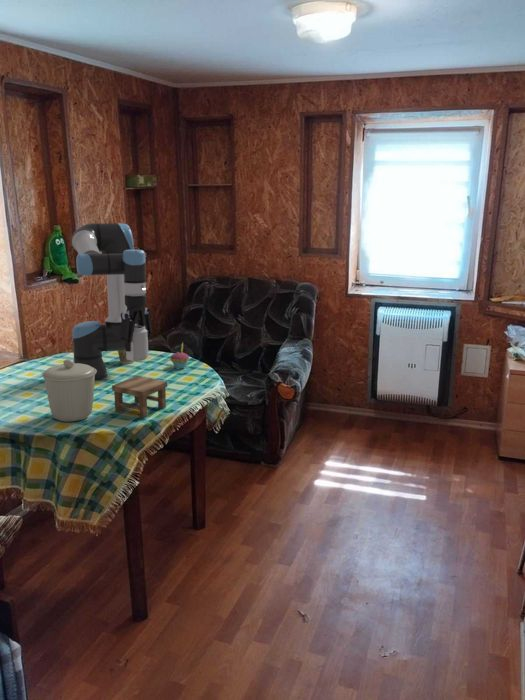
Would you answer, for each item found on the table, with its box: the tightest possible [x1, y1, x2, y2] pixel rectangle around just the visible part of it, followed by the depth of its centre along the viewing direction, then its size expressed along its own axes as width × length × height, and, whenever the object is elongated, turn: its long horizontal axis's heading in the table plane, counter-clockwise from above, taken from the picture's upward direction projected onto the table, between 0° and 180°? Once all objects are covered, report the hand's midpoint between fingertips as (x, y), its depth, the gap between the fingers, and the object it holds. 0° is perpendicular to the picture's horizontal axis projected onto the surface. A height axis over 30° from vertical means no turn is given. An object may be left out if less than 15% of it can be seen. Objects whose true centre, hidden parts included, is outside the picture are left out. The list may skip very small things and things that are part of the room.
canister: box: [41, 358, 97, 423], centre depth 202 cm, size 18×18×21 cm
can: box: [128, 324, 149, 362], centre depth 208 cm, size 8×8×12 cm
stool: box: [111, 375, 168, 419], centre depth 212 cm, size 14×14×10 cm
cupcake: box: [169, 342, 190, 369], centre depth 265 cm, size 9×8×12 cm
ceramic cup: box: [117, 350, 135, 365], centre depth 273 cm, size 13×10×10 cm
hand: (137, 357), depth 209 cm, fingers closed on can, 7 cm apart
